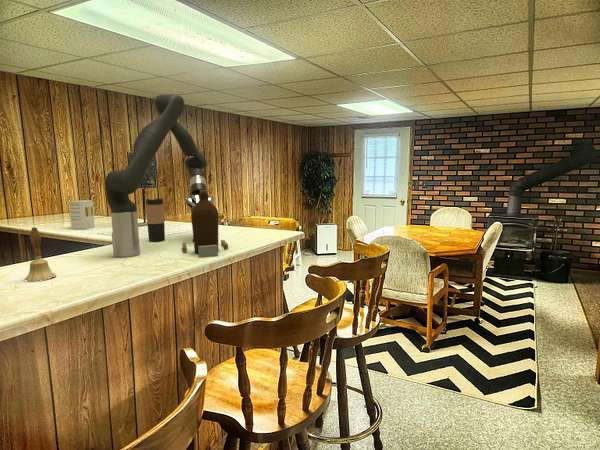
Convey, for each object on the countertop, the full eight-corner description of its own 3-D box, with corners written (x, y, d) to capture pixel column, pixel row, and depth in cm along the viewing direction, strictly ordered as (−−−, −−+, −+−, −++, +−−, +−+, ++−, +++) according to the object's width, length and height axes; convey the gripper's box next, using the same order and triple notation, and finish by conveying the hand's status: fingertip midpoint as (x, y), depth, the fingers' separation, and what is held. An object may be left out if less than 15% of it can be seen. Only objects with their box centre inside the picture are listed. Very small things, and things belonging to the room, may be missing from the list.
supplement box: (86, 229, 223) (83, 201, 220) (70, 229, 223) (68, 201, 221) (95, 227, 232) (92, 200, 230) (80, 227, 232) (77, 200, 230)
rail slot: (183, 253, 151) (182, 248, 151) (182, 247, 162) (182, 243, 162) (228, 249, 157) (228, 244, 157) (224, 244, 168) (224, 240, 168)
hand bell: (21, 283, 111) (14, 230, 109) (28, 276, 119) (22, 226, 117) (53, 280, 115) (48, 228, 113) (58, 273, 122) (53, 225, 120)
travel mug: (159, 242, 176) (156, 199, 173) (145, 242, 178) (142, 199, 175) (168, 239, 183) (165, 198, 181) (154, 239, 185) (151, 198, 182)
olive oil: (225, 250, 155) (222, 189, 152) (209, 255, 145) (206, 190, 142) (204, 248, 159) (201, 189, 156) (187, 253, 150) (183, 190, 146)
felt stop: (199, 257, 143) (198, 247, 142) (198, 256, 145) (198, 246, 144) (217, 255, 145) (217, 245, 144) (217, 254, 147) (216, 244, 146)
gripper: (183, 182, 172) (185, 210, 162) (213, 181, 176) (217, 209, 166) (183, 193, 177) (185, 221, 167) (212, 192, 181) (216, 220, 171)
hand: (201, 215), depth 166 cm, fingers closed
